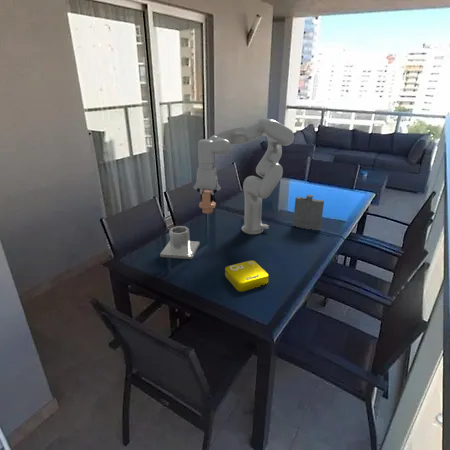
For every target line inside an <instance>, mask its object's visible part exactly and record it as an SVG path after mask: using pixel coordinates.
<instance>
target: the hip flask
mask: <svg viewBox="0 0 450 450" xmlns="http://www.w3.org/2000/svg"><path fill="white" fill-rule="evenodd" d="M324 205H325V200H323V199H317V198H316V199H314V195H313V194H306V196H305V197H303V196H296V197H295V200H294V211H293V223H292V226H293V227H295V226H296V227H297V228H299V227H300V228H299V229H304V228H305V230H310V229H312V230H313V231H321V228H322V221H323V220H322V219H323V213H324ZM296 227H295V228H296Z"/></svg>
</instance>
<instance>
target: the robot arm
mask: <svg viewBox="0 0 450 450" xmlns="http://www.w3.org/2000/svg"><path fill="white" fill-rule="evenodd" d="M262 137H266V139H267V149H266V151H265V153H264V155H263V156H262V158H261V159H260V160H259V162H258V164H257V166H256V167H255V172H256V174H257V175H258V176H259V177H258V176H255V175H249V176H247V177H246V178H244V181H243V184H242V187H243V188H242V189H243V193H244V223H243V225H242V226H241V231H242V232H243V233H245V234H248V235H258V234H259V235H260V234H261V233H263V232H264V229H265V230H266V229H267V230H269V228H270V227H269V226H270V225H268V224H267V223H263V221H262V208H263V207H262V205H263V199H267V198H268V197H269V196H270V195H271V194H272V193H273V191H274V189H276V186H277V185H278V183H279V182H280V181H281V179H282V177H283V173H284V169H283V166H282V165H281V164H280V163H279V161H280V159H281V158H282V155H283V154H282V153H283V149H282V148H283V147H282V146H289V145H291V144H292V143H293V142H294V139H295V134H294V132H293V130H292V129H290V128H289V127H287V126H285V125H284V124H282V123H281V122H278V121H276V120H275V119H271V118H264V117H260V118H257V119H255V120H253V121H250V122H249V123H245V124H244V125H241V126H239V127H235V128H231V129H227V130H223V131H221V132H218V133H215V134H214V135H211V136H210V137H209V138H208V139H207V138H204V139H199V140H198V141H197V152H198V153H197V154H198V155H197V157H198V158H197V159H198V168H197V171H196V181H195V184H194V185H193V189H194V190H195V191H197V192H198V194H199V197H200V201H202V193H203V192H204V190H210V191H211V202H213V201H214V200H215V194H216V193H217V192H218V191H220V190H221V189H222V188H221V186H220V184H219V183H218V172H217V168H216V167H218V164H217V163H215V156H216V155H220V156H221V155H222V156H223V155H227V154H229V152H230V151H231V149H232V145H243V144H248V143H250V142H252V141H255V140H257V139H259V138H262Z"/></svg>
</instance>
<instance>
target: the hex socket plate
mask: <svg viewBox="0 0 450 450" xmlns="http://www.w3.org/2000/svg"><path fill="white" fill-rule="evenodd" d="M168 232H169V233H168V234H169V241H168V243H167V244H166V245H165V247H164V248H163V249H162V251H161V252H160V254H159V255H160V256H159V257H161V258H170V259H180V260H181V259H183V260H193V257H194V256H195V255H196V252H197V250H198V249H199V247H200V243H201V242H200V241H198V240H197V241H193V240H191V237H190V229H189V228H188V227H187V226H185V225H184V226H183V225H177V226H174V227H171V228H170V229H169V230H168Z"/></svg>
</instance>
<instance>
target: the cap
mask: <svg viewBox="0 0 450 450" xmlns="http://www.w3.org/2000/svg"><path fill="white" fill-rule="evenodd" d="M198 206H199V208H200V209H202V213H203V214H206V215H207V214H212V213H213V211H214V209H215V208H216V206H217V203H216V202H215V201H214V200H213V202H211V190H210V189H203V193H202V200H201V201H200V202H199V204H198Z"/></svg>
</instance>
